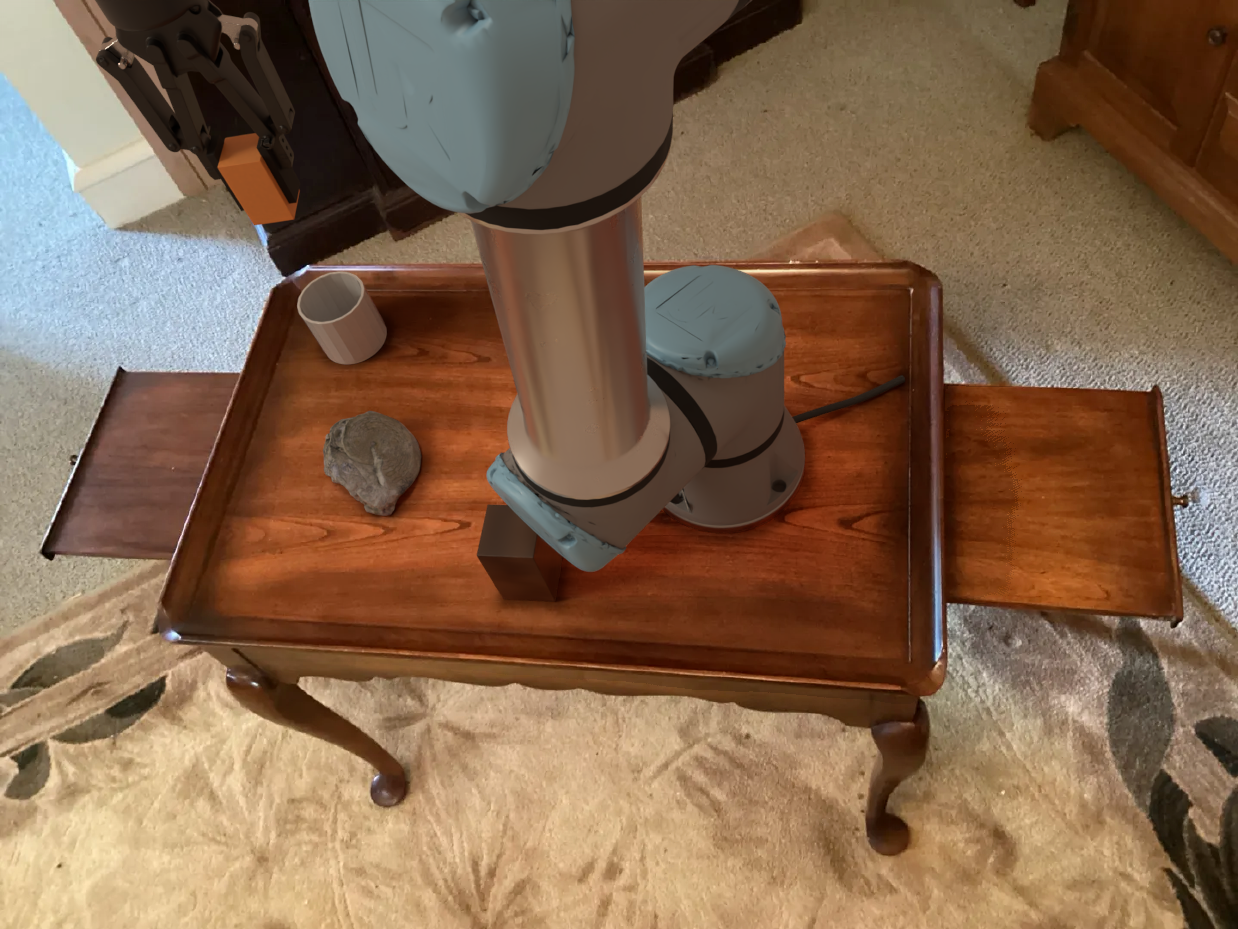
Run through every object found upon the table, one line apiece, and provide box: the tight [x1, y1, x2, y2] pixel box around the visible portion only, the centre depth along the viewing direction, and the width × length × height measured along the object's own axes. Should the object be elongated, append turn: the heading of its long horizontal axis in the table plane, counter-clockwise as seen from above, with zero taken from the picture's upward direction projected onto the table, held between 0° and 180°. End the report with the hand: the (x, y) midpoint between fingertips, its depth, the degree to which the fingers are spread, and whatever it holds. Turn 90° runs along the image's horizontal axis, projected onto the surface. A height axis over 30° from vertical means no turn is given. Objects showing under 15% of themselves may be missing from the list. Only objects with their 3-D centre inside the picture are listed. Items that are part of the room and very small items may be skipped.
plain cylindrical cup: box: [296, 270, 388, 365], centre depth 106 cm, size 7×7×7 cm
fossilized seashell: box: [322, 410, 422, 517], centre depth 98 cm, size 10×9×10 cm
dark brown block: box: [476, 503, 564, 603], centre depth 86 cm, size 5×5×9 cm
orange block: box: [218, 132, 301, 226], centre depth 89 cm, size 4×4×7 cm
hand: (270, 196), depth 90 cm, fingers closed on orange block, 4 cm apart
